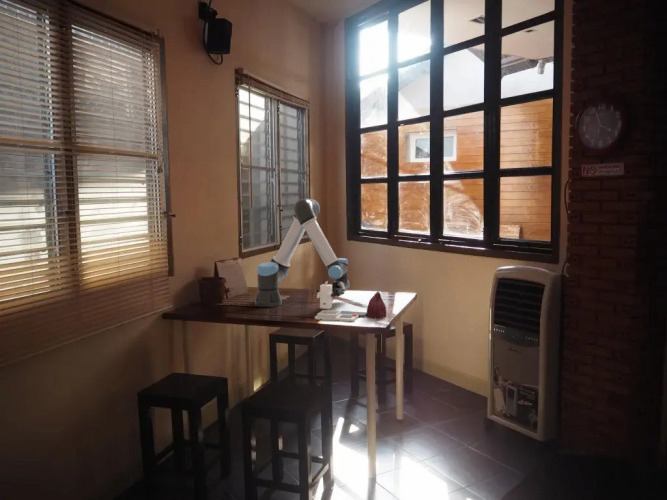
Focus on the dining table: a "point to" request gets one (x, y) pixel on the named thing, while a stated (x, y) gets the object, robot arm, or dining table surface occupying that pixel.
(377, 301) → the vegetable
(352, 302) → the dining table surface
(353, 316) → the white base tray
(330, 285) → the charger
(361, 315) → the phone
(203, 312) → the dining table surface
